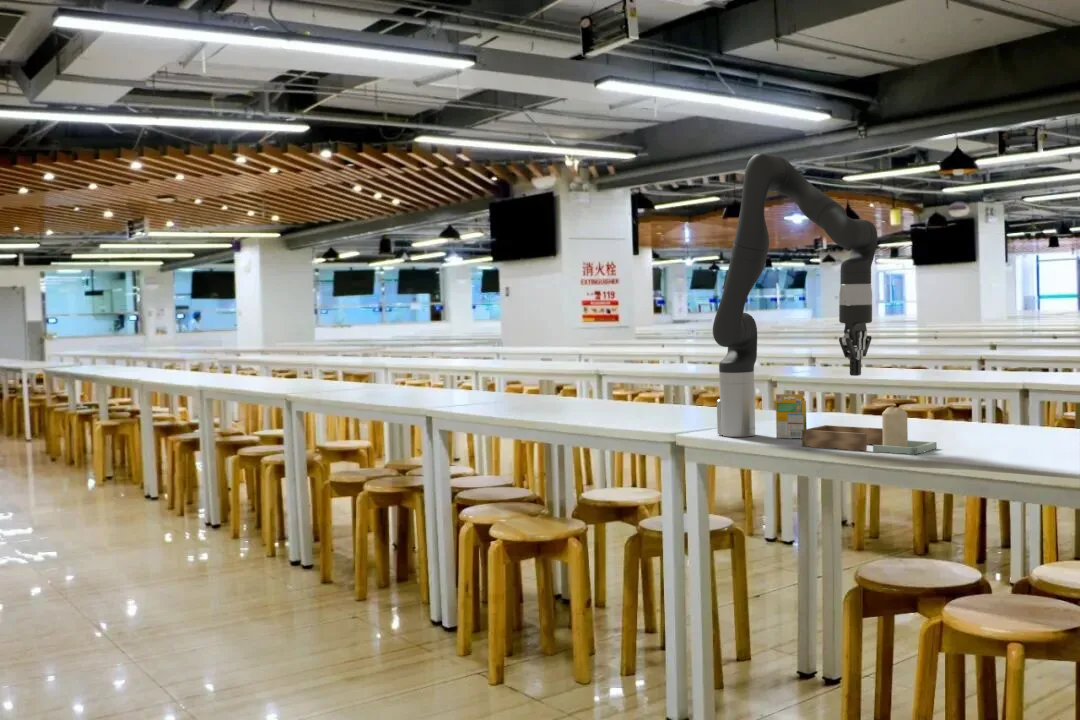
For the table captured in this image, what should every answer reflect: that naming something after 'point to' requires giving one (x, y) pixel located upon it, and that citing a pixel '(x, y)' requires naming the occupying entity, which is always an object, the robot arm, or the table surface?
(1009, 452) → the table surface
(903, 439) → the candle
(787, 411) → the crayon box
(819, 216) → the robot arm
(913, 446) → the mint green u-bracket
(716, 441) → the table surface
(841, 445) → the cubby
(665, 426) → the table surface
